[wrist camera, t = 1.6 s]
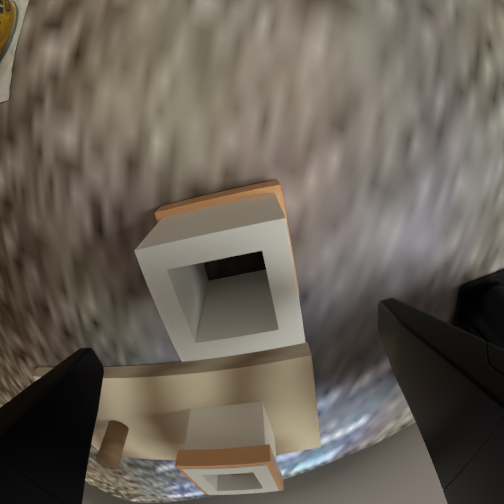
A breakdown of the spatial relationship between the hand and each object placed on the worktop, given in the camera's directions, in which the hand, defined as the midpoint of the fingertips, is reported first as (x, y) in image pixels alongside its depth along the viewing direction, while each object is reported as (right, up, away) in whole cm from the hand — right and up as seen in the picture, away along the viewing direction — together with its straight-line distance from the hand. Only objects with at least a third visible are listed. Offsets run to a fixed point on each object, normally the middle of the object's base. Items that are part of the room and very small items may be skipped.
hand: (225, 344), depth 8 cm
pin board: (-5, -10, +12) cm, 17 cm away
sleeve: (0, +3, +7) cm, 7 cm away
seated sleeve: (0, -10, +11) cm, 15 cm away
